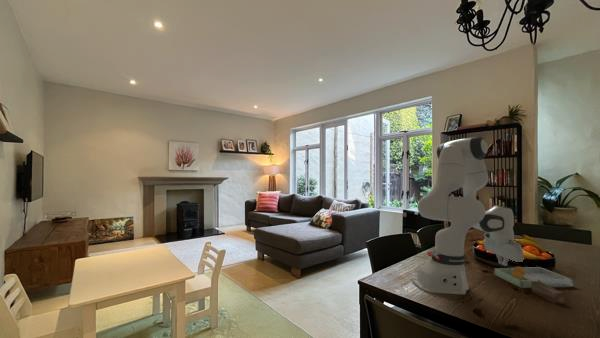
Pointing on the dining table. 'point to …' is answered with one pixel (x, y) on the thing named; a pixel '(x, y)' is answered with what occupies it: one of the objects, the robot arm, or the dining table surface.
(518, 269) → the ball
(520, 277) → the ball
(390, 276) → the dining table surface
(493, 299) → the dining table surface
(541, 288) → the taupe rectangular slab
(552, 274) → the grey metal shallow bin
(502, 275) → the tray
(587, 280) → the dining table surface
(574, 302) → the dining table surface
